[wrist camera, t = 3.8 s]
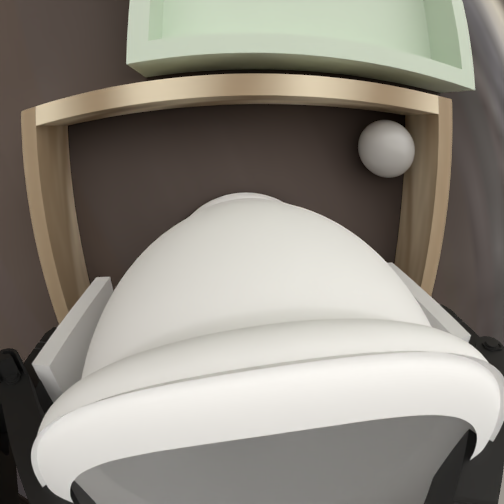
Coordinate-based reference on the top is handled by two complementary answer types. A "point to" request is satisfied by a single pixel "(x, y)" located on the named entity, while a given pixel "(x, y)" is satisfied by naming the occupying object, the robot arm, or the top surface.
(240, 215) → the jar
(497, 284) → the top surface
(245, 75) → the bin
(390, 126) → the pebble
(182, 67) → the bin
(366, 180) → the top surface
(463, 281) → the top surface
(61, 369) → the robot arm
